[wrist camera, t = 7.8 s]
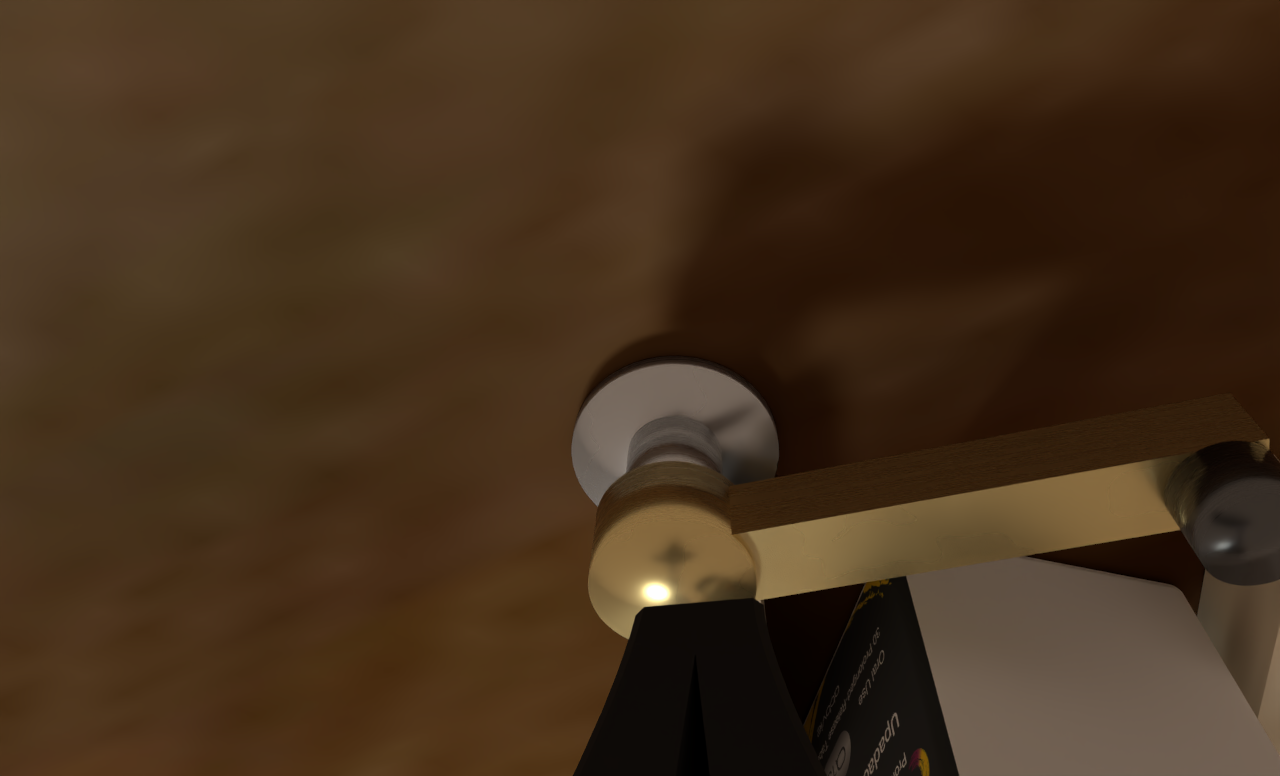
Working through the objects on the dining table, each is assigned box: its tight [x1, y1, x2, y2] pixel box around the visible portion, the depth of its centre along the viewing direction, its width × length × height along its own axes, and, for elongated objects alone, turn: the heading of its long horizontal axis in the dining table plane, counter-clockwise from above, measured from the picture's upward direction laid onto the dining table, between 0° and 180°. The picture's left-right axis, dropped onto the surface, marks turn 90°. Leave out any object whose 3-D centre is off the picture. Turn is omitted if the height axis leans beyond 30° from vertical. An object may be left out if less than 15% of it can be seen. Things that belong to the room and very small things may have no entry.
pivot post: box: [572, 356, 779, 506], centre depth 21 cm, size 4×4×2 cm
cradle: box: [758, 455, 1280, 756], centre depth 24 cm, size 11×12×3 cm
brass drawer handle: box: [588, 392, 1280, 639], centre depth 18 cm, size 12×3×3 cm, turn 105°
